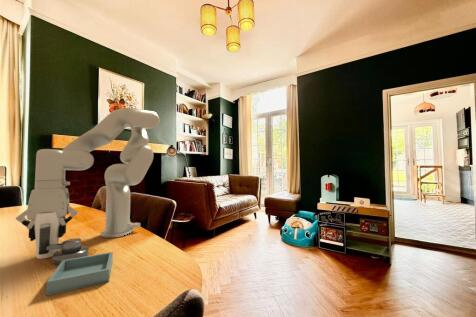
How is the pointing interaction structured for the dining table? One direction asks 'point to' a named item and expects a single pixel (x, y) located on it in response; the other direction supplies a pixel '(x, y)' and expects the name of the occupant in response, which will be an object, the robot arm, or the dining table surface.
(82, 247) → the crank stand
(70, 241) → the crank
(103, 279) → the tray
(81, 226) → the dining table surface
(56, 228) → the drinking glass
